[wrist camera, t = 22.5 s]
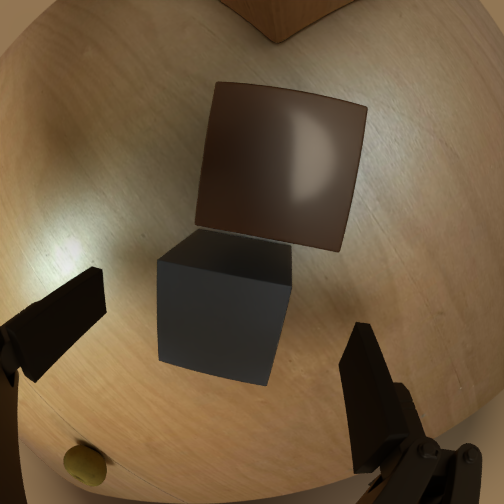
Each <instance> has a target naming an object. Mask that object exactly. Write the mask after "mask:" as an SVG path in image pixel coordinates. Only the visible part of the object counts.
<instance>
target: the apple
mask: <svg viewBox="0 0 504 504" xmlns="http://www.w3.org/2000/svg"><path fill="white" fill-rule="evenodd" d="M64 466H65V469H66V470H67V472H68V473H69V474H70V475H72V476H73V477H74V478H76V479H77V480H79V481H80V482H82V483H84V484H86V485H89V486H98V485H100V484H102V483H103V481H104V480H105V477H106V473H107V467H106V462H105V460H104V458H103V457H102V456H101V455H100V454H99V453H98V452H96V451H94V450H92V449H90V448H88V447H86V446H83V445H76V446H74V447H72V448H70V449H69V450H68V451H67V452H66V454H65V456H64Z"/></svg>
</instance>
